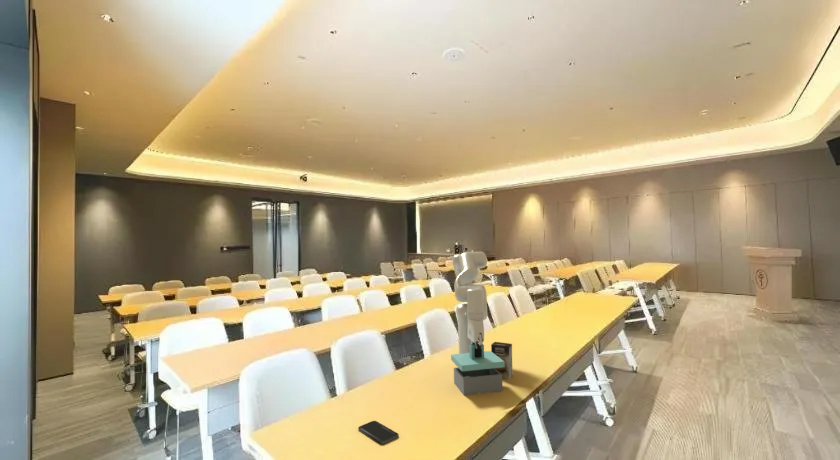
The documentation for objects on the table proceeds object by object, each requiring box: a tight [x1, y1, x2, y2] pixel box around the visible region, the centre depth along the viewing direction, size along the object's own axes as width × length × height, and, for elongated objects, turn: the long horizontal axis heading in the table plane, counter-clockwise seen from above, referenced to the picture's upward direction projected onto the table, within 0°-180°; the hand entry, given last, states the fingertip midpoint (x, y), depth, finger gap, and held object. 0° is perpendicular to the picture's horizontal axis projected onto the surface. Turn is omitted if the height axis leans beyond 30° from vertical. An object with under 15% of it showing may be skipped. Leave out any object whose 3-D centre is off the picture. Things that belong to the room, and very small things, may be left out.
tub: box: [453, 367, 504, 396], centre depth 170 cm, size 14×18×8 cm
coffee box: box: [490, 341, 513, 379], centre depth 184 cm, size 9×6×16 cm
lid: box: [450, 343, 505, 371], centre depth 171 cm, size 16×20×8 cm
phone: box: [358, 420, 400, 446], centre depth 132 cm, size 8×1×15 cm
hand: (476, 355), depth 171 cm, fingers closed on lid, 3 cm apart
